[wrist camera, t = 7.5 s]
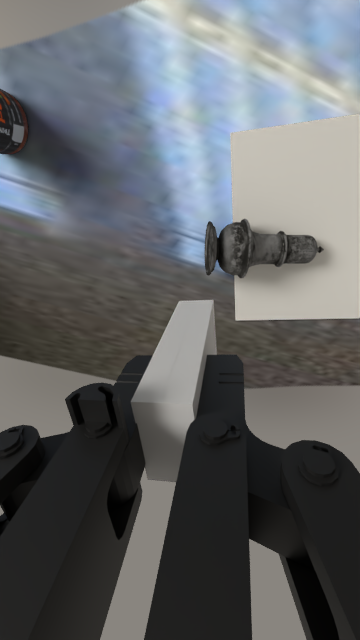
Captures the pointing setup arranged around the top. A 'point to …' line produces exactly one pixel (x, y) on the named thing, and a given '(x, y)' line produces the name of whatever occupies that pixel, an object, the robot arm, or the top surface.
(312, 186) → the board
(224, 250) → the salt shaker
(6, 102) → the supplement bottle
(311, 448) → the robot arm
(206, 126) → the top surface
